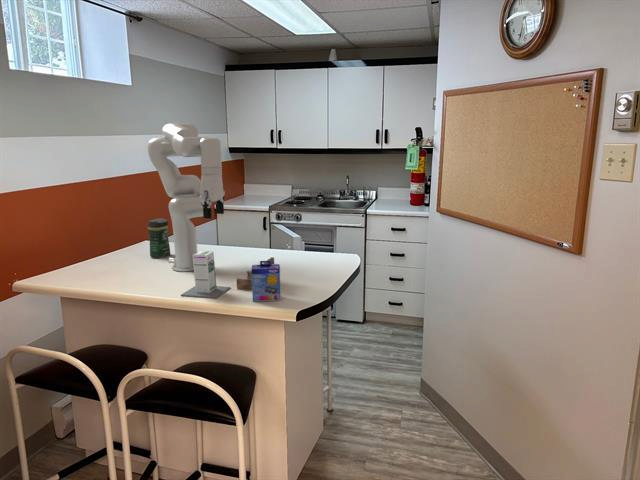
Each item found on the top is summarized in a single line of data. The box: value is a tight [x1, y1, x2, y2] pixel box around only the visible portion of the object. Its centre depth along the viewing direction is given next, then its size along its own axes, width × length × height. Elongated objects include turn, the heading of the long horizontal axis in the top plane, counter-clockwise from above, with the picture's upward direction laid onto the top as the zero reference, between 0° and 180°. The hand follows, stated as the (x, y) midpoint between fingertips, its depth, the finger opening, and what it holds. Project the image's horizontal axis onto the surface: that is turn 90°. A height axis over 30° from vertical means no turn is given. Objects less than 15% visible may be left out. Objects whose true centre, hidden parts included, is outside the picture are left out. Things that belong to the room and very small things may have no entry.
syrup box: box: [193, 250, 217, 293], centre depth 173 cm, size 6×6×14 cm
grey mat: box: [180, 285, 231, 300], centre depth 175 cm, size 14×12×1 cm
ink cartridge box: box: [250, 260, 282, 303], centre depth 164 cm, size 10×6×14 cm, turn 95°
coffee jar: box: [147, 217, 171, 259], centre depth 228 cm, size 10×8×19 cm
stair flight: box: [236, 256, 275, 291], centre depth 180 cm, size 11×11×10 cm
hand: (213, 215), depth 181 cm, fingers open, 9 cm apart
